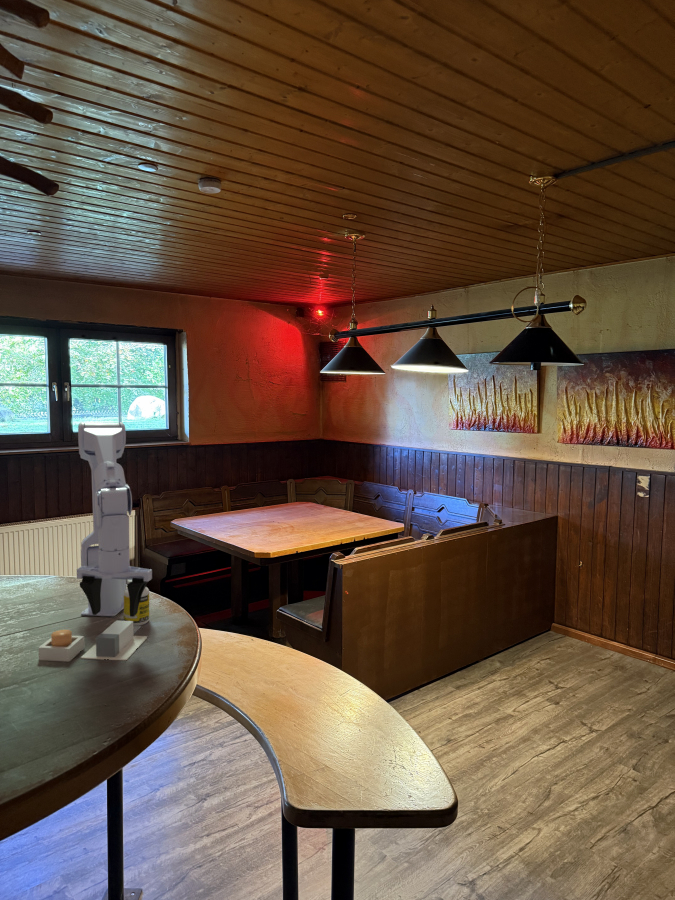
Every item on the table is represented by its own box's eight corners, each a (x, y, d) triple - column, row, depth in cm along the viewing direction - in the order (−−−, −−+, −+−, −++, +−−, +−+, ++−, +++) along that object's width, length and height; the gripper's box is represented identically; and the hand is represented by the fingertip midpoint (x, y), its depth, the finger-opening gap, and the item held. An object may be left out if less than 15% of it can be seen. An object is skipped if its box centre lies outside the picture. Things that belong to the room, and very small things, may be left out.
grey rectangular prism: (116, 637, 126) (116, 619, 126) (133, 637, 126) (133, 620, 125) (96, 656, 117) (95, 637, 117) (114, 656, 117) (114, 638, 116)
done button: (57, 643, 120) (57, 629, 119) (75, 644, 120) (75, 630, 119) (48, 651, 116) (47, 636, 116) (66, 652, 116) (65, 637, 116)
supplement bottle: (141, 627, 132) (141, 584, 131) (119, 625, 133) (118, 581, 132) (154, 618, 137) (153, 576, 136) (132, 616, 138) (131, 574, 137)
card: (113, 626, 132) (113, 624, 132) (140, 627, 132) (140, 625, 132) (105, 633, 128) (105, 631, 128) (133, 634, 128) (133, 633, 128)
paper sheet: (105, 635, 127) (105, 634, 127) (147, 637, 127) (147, 636, 127) (80, 658, 116) (80, 657, 116) (126, 660, 116) (126, 659, 116)
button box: (55, 646, 121) (54, 634, 121) (84, 648, 121) (84, 636, 121) (38, 660, 115) (38, 647, 115) (69, 661, 115) (69, 648, 115)
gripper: (68, 551, 116) (69, 619, 117) (142, 554, 115) (143, 623, 117) (85, 542, 123) (86, 606, 124) (155, 545, 122) (156, 609, 124)
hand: (115, 613), depth 121 cm, fingers open, 7 cm apart
